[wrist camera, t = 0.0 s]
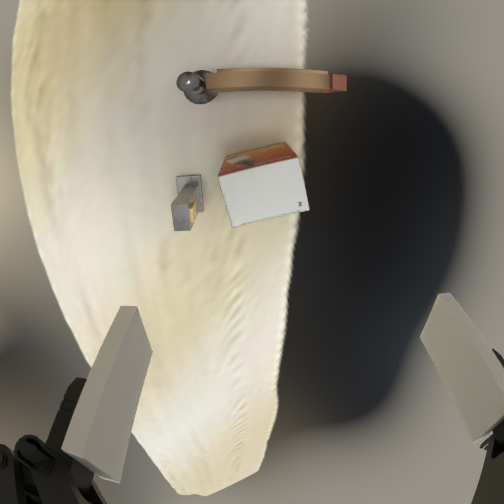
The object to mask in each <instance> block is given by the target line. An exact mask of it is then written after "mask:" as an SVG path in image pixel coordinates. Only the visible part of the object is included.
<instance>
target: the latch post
mask: <svg viewBox="0 0 504 504" xmlns="http://www.w3.org/2000/svg"><path fill="white" fill-rule="evenodd" d="M176 182H177V191H178V196H177V197H176V198H175V200H174V201H173V203H172V204H171V210H172V217H173V224H174V231H188V230H191V228H192V225H193V223H194V221H195V218H196V216H197V213H198V212H203V211H204V209H203V197H202V185H201V175H192V176H177V177H176Z"/></svg>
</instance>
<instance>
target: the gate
mask: <svg viewBox="0 0 504 504" xmlns="http://www.w3.org/2000/svg"><path fill="white" fill-rule="evenodd" d="M206 89H208V90H210V91H213V92H224V91H254V90H272V91H302V92H316V93H330V92H339V91H346V76H345V75H337V74H331V75H329V74H328V71H318V70H306V69H288V68H234V69H217V73H206Z"/></svg>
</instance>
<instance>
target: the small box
mask: <svg viewBox="0 0 504 504" xmlns="http://www.w3.org/2000/svg"><path fill="white" fill-rule="evenodd" d="M218 181H219V184H220V188H221V191H222V194H223V198H224V201H225V205H226V208H227V211H228V215H229V218H230V221H231V225H232V227H233V228H234V227H238V226H241V225H245V224H248V223H252V222H256V221H260V220H265V219H269V218H273V217H278V216H282V215H287V214H291V213H296V212H303V211H308V210H309V204H308V199H307V194H306V189H305V184H304V179H303V174H302V170H301V165H300V160H299V157H298V156H297V155H296V153H295V152H294V151H293V150H292V149H291V148H290V146H289V145H288V144H287V143H286V142H284V143H280V144H276V145H272V146H268V147H264V148H259V149H255V150H251V151H246V152H242V153H239V154H235V155H231V156H227V157H226V158H225V160H224V163H223V165H222V167H221V170H220V172H219V174H218Z"/></svg>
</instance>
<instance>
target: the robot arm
mask: <svg viewBox="0 0 504 504" xmlns="http://www.w3.org/2000/svg"><path fill="white" fill-rule="evenodd" d="M420 339H421V340H422V342H423V344H424V346H425V347H426V349H427V351H428V353H429V355H430V357H431V359H432V360H433V362H434V364H435V366H436V368H437V370H438V372H439V374H440V376H441V377H442V379H443V382H444V383H445V385H446V388H447V390H448V392H449V394H450V396H451V398H452V400H453V402H454V404H455V406H456V409H457V410H458V413H459V415H460V417H461V420H462V421H463V424H464V427H465V429H466V431H467V434H468V436H469V439H470V441H471V443H472V444H473V443H475V442H477V441H479V440H480V439H482V438H484V437H485V436H486V435H487V434H488V433H490V432H491V431H493V434H492V435H491V436H490V437H489V438H487V439H486V440H485V441H484V442H483V443H482V444H481V446H480V448H483V447H484V446H485V445H487V444H488V443H489V444H488V445H487V446H486V447H485V448H484V450H487V453H486V457H485V461H484V465H483V469H482V472H481V476H480V480H479V483H478V486H477V489H476V492H475V495H474V497H473V500H472V503H471V504H504V359H503V358H502V356H501V355H500V354H499V353H497V352H496V351H495V350H494V349H491V348H490V346H489V345H488V343H487V342H486V340H485V339H484V338H483V336H482V335H481V333H480V332H479V331H478V329H477V328H476V326H475V325H474V324H473V322H472V321H471V320H470V318H469V317H468V316H467V314H466V313H465V312H464V310H463V309H462V308H461V306H460V305H459V304H458V303H457V302H456V300H455V299H454V298H453V296H452V295H451V294H450V293H444V294H438V296H437V298H436V301H435V303H434V306H433V308H432V311H431V313H430V315H429V318H428V320H427V322H426V325H425V327H424V329H423V331H422V333H421V336H420ZM152 352H153V351H152V349H151V346H150V343H149V340H148V337H147V334H146V332H145V329H144V326H143V323H142V320H141V317H140V314H139V310H138V307H136V306H121V307H120V309H119V311H118V313H117V315H116V317H115V319H114V321H113V323H112V325H111V327H110V329H109V331H108V333H107V335H106V337H105V340H104V342H103V344H102V346H101V348H100V351H99V353H98V355H97V357H96V359H95V362H94V364H93V366H92V369H91V371H90V373H89V376H88V378H87V379H83V378H78V377H77V378H76V379H75V380H74V381H73V382H72V383H71V384H70V385H69V387H68V389H67V391H66V393H65V395H64V398H63V399H64V400H63V401H62V403H61V405H60V410H58V413H57V415H56V418H55V420H54V423H53V425H52V428H51V431H50V433H49V437H48V439H47V441H46V443H44V442H43V441H41V440H40V439H39V438H38V437H37V436H34V435H25V436H23V437H22V438H20V439H19V440H18V442H17V443H16V445H15V449H14V451H12V450H11V449H9V448H8V447H7V446H6V445H3V444H0V504H107V503H106V501H105V499H104V498H103V496H102V494H101V492H100V490H99V489H98V487H97V485H96V483H95V482H94V480H93V476H94V474H96V475H97V476H99V477H100V478H102V479H106V480H109V481H113V482H117V483H120V481H121V475H122V470H123V466H124V461H125V456H126V451H127V447H128V442H129V438H130V434H131V430H132V426H133V422H134V418H135V414H136V410H137V406H138V402H139V398H140V395H141V391H142V387H143V384H144V380H145V376H146V373H147V369H148V366H149V363H150V359H151V356H152Z"/></svg>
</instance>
